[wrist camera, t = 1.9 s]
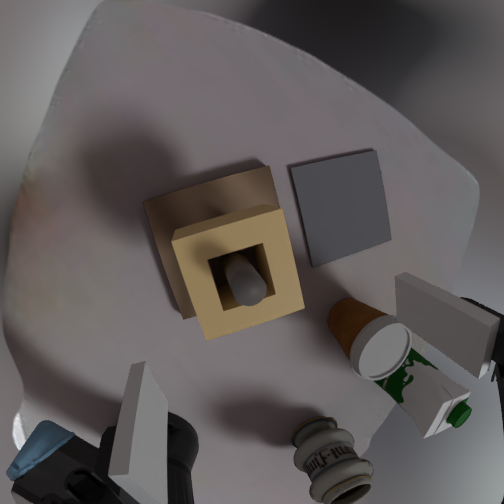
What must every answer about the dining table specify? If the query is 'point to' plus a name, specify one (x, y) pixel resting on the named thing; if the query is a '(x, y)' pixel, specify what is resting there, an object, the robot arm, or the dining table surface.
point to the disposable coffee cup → (369, 338)
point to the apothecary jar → (331, 462)
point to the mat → (341, 206)
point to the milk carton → (427, 395)
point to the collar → (229, 240)
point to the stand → (204, 208)
